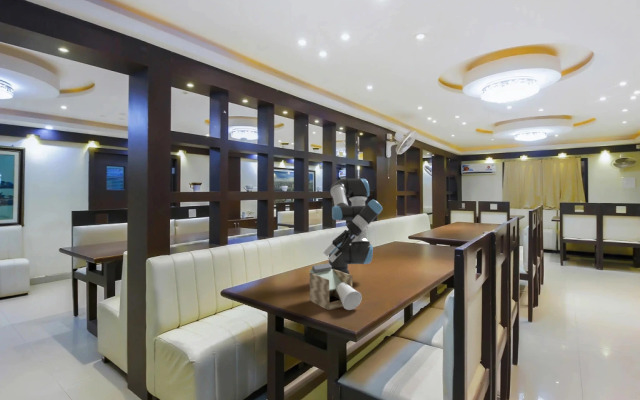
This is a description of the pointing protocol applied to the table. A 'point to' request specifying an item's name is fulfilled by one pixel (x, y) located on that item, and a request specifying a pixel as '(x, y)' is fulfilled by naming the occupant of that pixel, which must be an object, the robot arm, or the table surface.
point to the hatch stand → (326, 290)
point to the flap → (327, 275)
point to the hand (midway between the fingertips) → (327, 257)
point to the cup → (348, 296)
